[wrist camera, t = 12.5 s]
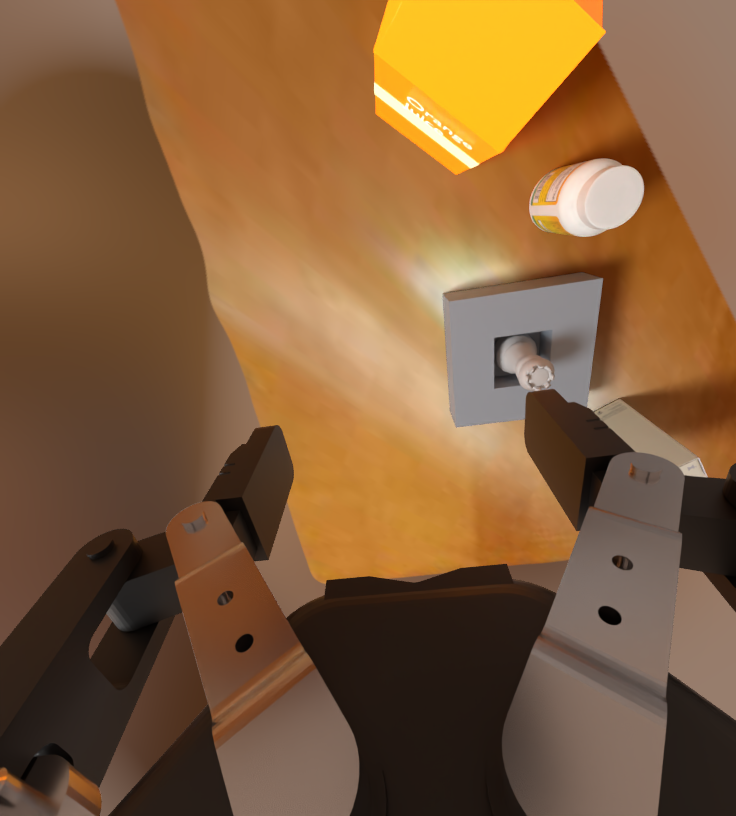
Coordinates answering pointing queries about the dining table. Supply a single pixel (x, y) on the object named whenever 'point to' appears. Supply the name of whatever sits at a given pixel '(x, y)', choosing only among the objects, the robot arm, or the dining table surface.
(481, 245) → the dining table surface
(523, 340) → the rook chess piece
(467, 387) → the socket block
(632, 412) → the skincare box
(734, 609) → the robot arm
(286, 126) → the dining table surface
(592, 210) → the supplement bottle
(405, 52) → the orange juice
